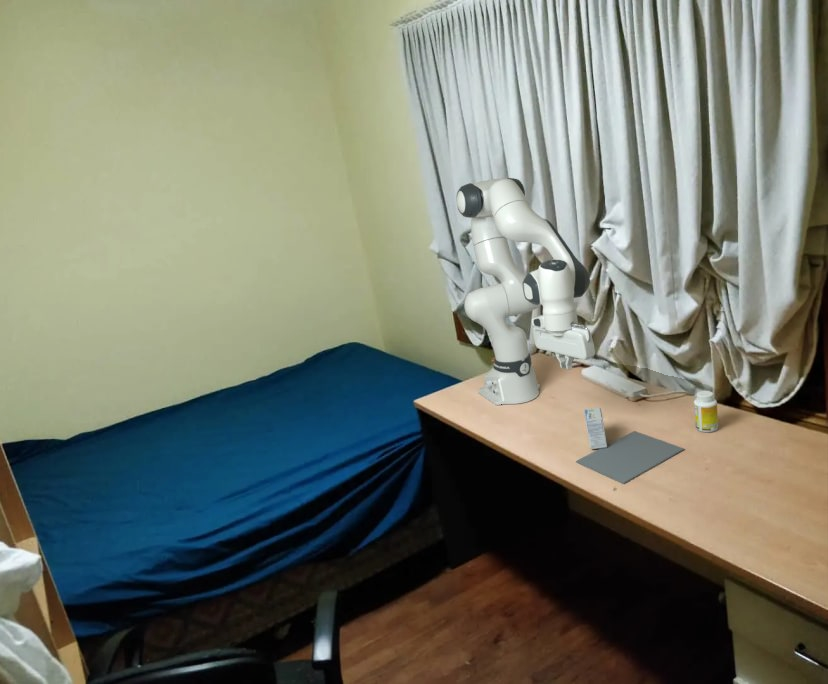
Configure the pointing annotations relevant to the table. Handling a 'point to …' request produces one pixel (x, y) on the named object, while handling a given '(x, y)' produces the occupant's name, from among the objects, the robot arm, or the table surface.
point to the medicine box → (595, 428)
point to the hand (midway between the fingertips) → (566, 368)
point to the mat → (629, 456)
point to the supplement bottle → (706, 412)
